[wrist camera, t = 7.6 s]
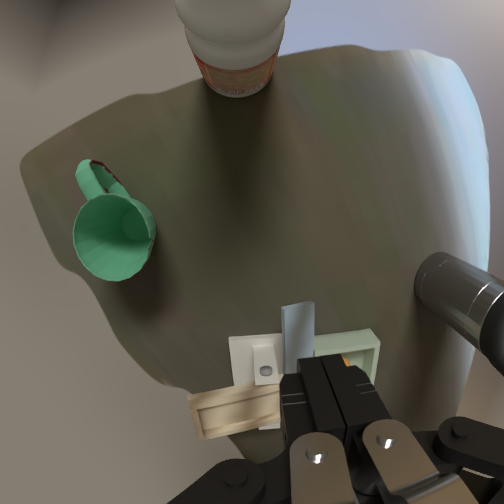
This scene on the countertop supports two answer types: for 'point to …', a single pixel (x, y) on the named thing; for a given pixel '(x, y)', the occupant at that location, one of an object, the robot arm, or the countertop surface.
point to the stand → (257, 361)
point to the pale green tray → (351, 348)
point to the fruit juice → (234, 41)
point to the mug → (111, 226)
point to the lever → (255, 396)
